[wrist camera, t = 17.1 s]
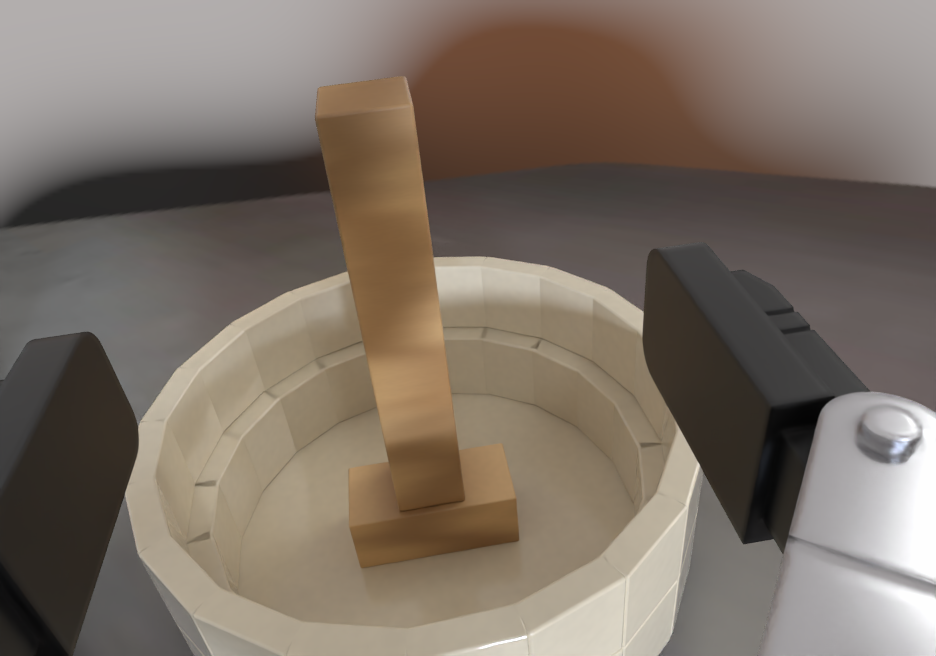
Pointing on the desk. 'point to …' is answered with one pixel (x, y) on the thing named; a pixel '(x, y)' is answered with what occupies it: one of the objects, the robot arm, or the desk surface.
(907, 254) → the desk surface
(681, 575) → the bowl
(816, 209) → the desk surface
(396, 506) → the wooden t-shaped block
